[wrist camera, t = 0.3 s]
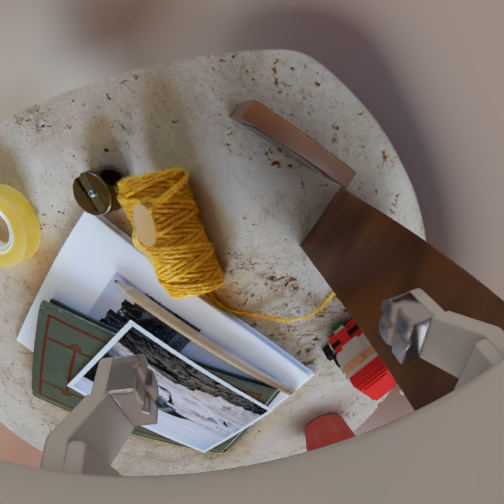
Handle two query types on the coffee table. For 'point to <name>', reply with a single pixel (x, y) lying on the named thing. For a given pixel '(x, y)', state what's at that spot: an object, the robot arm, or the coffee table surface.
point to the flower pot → (326, 431)
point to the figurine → (359, 361)
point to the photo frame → (292, 141)
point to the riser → (393, 283)
